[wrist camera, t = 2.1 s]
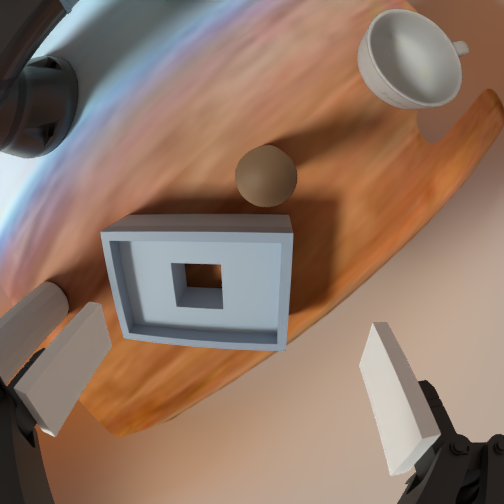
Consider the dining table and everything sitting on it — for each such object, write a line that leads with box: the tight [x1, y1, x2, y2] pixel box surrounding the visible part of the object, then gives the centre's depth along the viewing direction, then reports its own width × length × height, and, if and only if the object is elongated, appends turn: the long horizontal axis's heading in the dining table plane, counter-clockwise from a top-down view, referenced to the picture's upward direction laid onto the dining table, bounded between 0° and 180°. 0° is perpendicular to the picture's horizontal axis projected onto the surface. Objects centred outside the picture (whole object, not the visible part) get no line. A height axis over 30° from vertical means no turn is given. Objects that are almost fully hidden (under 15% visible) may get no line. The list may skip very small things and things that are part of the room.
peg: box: [235, 145, 297, 207], centre depth 25 cm, size 4×4×14 cm
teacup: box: [357, 9, 469, 110], centre depth 22 cm, size 14×11×8 cm
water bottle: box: [0, 281, 69, 385], centre depth 29 cm, size 9×8×25 cm
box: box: [100, 214, 293, 351], centre depth 33 cm, size 14×20×7 cm
